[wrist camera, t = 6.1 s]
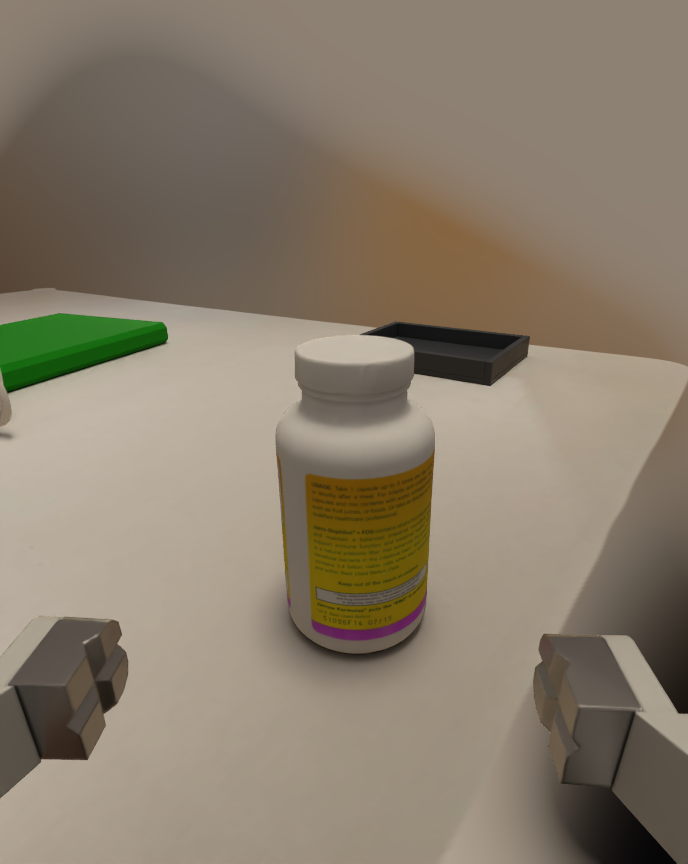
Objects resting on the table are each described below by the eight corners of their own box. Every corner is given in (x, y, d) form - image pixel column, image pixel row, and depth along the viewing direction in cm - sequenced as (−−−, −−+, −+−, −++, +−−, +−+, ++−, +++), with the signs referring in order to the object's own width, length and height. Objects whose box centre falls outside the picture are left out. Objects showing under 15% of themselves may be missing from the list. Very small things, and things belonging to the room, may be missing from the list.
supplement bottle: (454, 617, 24) (479, 350, 19) (339, 687, 21) (332, 384, 16) (368, 548, 29) (369, 323, 24) (263, 595, 26) (239, 343, 21)
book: (-138, 378, 62) (-148, 354, 61) (63, 331, 86) (59, 313, 84) (-20, 402, 53) (-29, 374, 52) (168, 342, 77) (165, 322, 76)
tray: (527, 355, 67) (529, 336, 66) (490, 385, 56) (492, 362, 55) (394, 338, 77) (395, 321, 76) (341, 361, 66) (340, 341, 65)
